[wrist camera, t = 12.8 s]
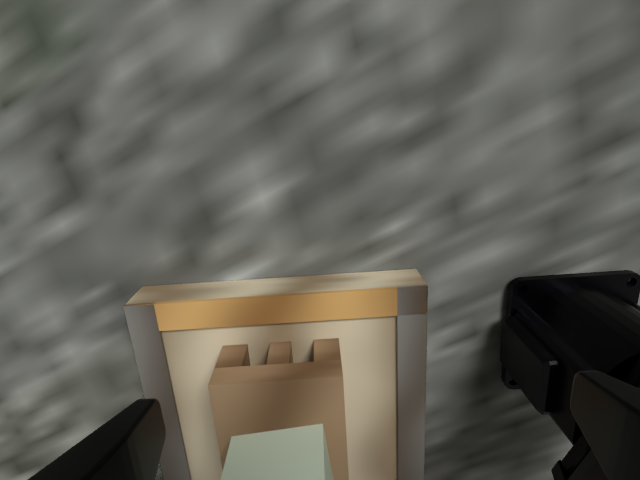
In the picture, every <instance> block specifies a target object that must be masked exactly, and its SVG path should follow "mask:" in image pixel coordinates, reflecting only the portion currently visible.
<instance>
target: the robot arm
mask: <svg viewBox="0 0 640 480" xmlns="http://www.w3.org/2000/svg"><path fill="white" fill-rule="evenodd" d="M630 278H631V280H630V282H628V283H627V281H628V280H629V279H630ZM521 285H524V287H523V289H522V290H520V291H518V287H519V286H521ZM639 293H640V275H638V274H637V273H635V272H633V271H629V270H624V271H608V272H593V273H578V274H562V275H547V276H531V277H519V278H515V279H514V280H512V282H511V283H510V286H509V295H508V307H507V317H505V319H504V320H503V326H502V338H501V350H500V362H501V363H502V364H503V365H502V377H501V378H502V381H503V383H504V384H505V386H506V387H507V388H509V389H521V390H522V391H523V392H524V394H525V395H526V396H527V398H528V399H529V400H530V402H531V403H532V404H533V406H534V407H535V409H536V410H537V411H539V412H540V413H541V414H549V415H550V416H551V417H552V419H553V420H554V421H555V422H556V424H557V425H558V426H559V428H560V429H561V430H562V431H563V433H564V434H565V435H566V437H567V438H568V439H569V440H570V442H571V443H572V444H573V447H572V448H571V449H570V451H569V452H568V453H567V455H566V456H565V457H564V459H563V460H562V461H561V460H559V461H558V462H557V463H556V464H555V466H554V467H553V468H552V474H553V477H554V480H640V306H639V305H637V303H638V298H639ZM512 378H513V380H512V381H510V379H512ZM165 438H166V428H165V423H164V419H163V414H162V410H161V405H160V402H159V400H158V399H156V398H149V399H139V400H137V401H135V402H134V403H132V404H131V405H130V406H128V407H127V408H125V409H124V410H123V411H121V412H120V413H119V414H117V415H116V416H114V417H113V418H112V419H110V420H109V421H108V422H106V423H105V424H103V425H102V426H101V427H99V428H98V429H97V430H95V431H94V432H93V433H91V434H90V435H88V436H87V437H86V438H84V439H83V440H82V441H80V442H79V443H77V444H76V445H75V446H73V447H72V448H71V449H69V450H68V451H66V452H65V453H64V454H62V455H61V456H60V457H58V458H57V459H55V460H54V461H53V462H51V463H50V464H49V465H47V466H46V467H44V468H43V469H42V470H40V471H39V472H38V473H36V474H35V475H34V476H32V477H31V478H29V479H28V480H155V477H156V473H157V469H158V466H159V462H160V458H161V454H162V450H163V447H164V443H165Z"/></svg>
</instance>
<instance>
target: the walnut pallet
mask: <svg viewBox="0 0 640 480" xmlns="http://www.w3.org/2000/svg"><path fill="white" fill-rule="evenodd" d="M208 391H209V396H210V402H211V408H212V413H213V419H214V425H215V430H216V436H217V442H218V447H219V453H220V459H221V465H222V470H223V468H224V464H225V460H226V456H227V452H228V448H229V444H230V440H231V436H238V435H245V434H252V433H259V432H267V431H274V430H281V429H288V428H295V427H302V426H309V425H316V424H323V427H324V432H325V438H326V443H327V448H328V453H329V459H330V464H331V469H332V474H333V480H349V474H348V456H347V438H346V420H345V402H344V384H343V372H342V363H341V354H340V345H339V338H332V339H317V340H314V362H300V363H293V356H292V346H291V341H287V342H271V343H270V347H269V353H268V358H267V364H266V365H255V366H251V365H250V358H249V350H248V344H241V345H226V346H223V347H222V349H221V352H220V354H219V357H218V360H217V362H216V365H215V368H214V370H213V373H212V376H211V378H210V381H209V383H208Z"/></svg>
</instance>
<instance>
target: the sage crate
mask: <svg viewBox="0 0 640 480" xmlns="http://www.w3.org/2000/svg"><path fill="white" fill-rule="evenodd" d="M221 480H333V474H332V469H331V464H330V459H329V453H328V448H327V443H326V438H325V432H324V427H323V424H316V425H309V426H302V427H295V428H288V429H281V430H274V431H267V432H259V433H252V434H245V435H238V436H231V440H230V444H229V448H228V452H227V456H226V460H225V464H224V468H223V472H222V476H221Z"/></svg>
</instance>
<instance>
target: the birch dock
mask: <svg viewBox="0 0 640 480" xmlns="http://www.w3.org/2000/svg"><path fill="white" fill-rule="evenodd" d="M427 300H428V286H427V285H426V283H425V282H424V280H423V279H422V277H421V275H420V274H419V272H418V271H417V269H406V270H390V271H375V272H359V273H344V274H329V275H313V276H298V277H282V278H267V279H252V280H236V281H221V282H205V283H190V284H175V285H159V286H144V287H142V288H141V289H140V290H139V291H138V292H137V293H136V294H135V295H134V296H133V297H132V298H131V299H130V300H129V301H128V302H127V303H126V304H125V305H124V306H123V307H124V311H125V315H126V320H127V324H128V328H129V333H130V337H131V341H132V346H133V350H134V354H135V358H136V363H137V367H138V371H139V376H140V380H141V384H142V389H143V393H144V397H145V399H149V398H156V399H158V400H159V402H160V405H161V410H162V414H163V419H164V423H165V428H166V438H165V443H164V447H163V450H162V454H161V458H160V466H161V471H162V475H163V479H164V480H221V476H222V472H223V470H222V465H221V459H220V453H219V447H218V442H217V436H216V430H215V425H214V419H213V413H212V408H211V402H210V396H209V391H208V383H209V381H210V378H211V376H212V373H213V370H214V368H215V365H216V362H217V360H218V357H219V354H220V352H221V349H222V347H223V346H226V345H241V344H248V350H249V358H250V365H251V366H255V365H266V364H267V358H268V353H269V347H270V343H271V342H287V341H291V346H292V356H293V363H300V362H314V340H317V339H332V338H339V345H340V354H341V363H342V372H343V384H344V402H345V420H346V438H347V456H348V474H349V480H424V458H425V406H426V353H427Z"/></svg>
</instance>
